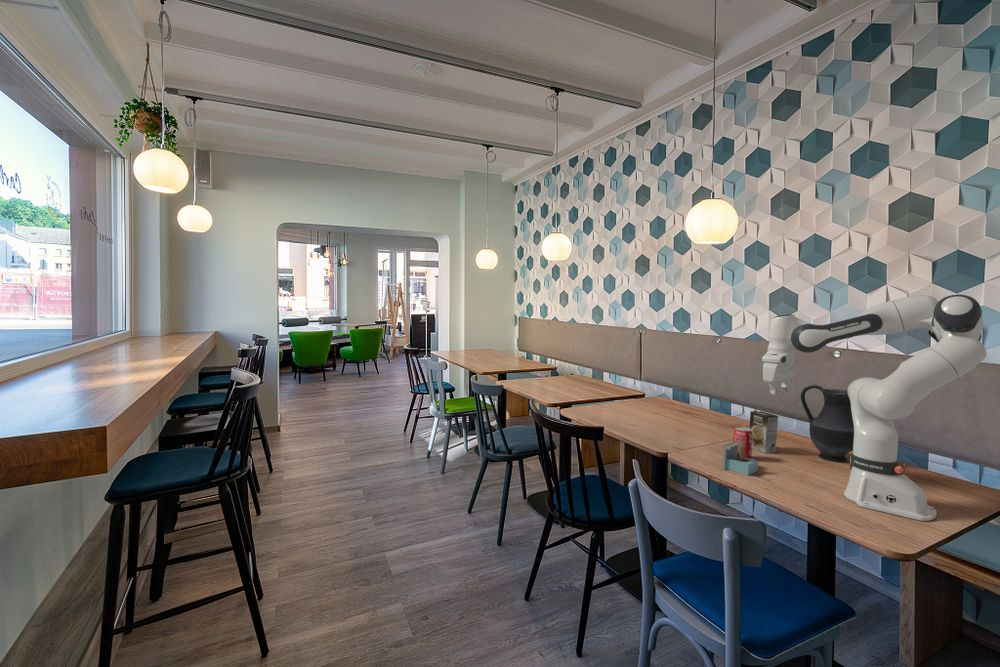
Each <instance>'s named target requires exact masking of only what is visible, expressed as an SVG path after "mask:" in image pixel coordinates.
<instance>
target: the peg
mask: <svg viewBox="0 0 1000 667" xmlns="http://www.w3.org/2000/svg"><path fill="white" fill-rule="evenodd" d="M745 448H746V445H745V444H741V443H739V444H738V451H737V460H738V461H742V462H745Z"/></svg>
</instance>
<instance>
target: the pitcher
mask: <svg viewBox="0 0 1000 667" xmlns="http://www.w3.org/2000/svg"><path fill="white" fill-rule="evenodd" d="M811 389H817V390H819V391H821V393H822V395H823V401H824V402H823V406H822V408H821V410H820V412H819V413H818V414H817V416H815V417H814V416H813V415H812V412H811V411H810V409H809V407H808V404H807V402H806V399H805V397H806V392H807V391H809V390H811ZM800 401H801V404H802V407H803V409H804V411H805V413H806V416H807V418H808V421H809V438H810V440H811V442H812V444H813V445H814V446H815V448H816V449H817V450H818V451H819V453H818V457H819V459H822V460H823V461H828V462H833V463H845V462H848V459H847V457H846V456H847V455H848V454H850V453H852V452H853V442H854V424H853V417H852V411H851V403H850V399H849V396H848V389H839V388H838V389H835V388H823V386H820V385H817V384H810V385H807V386H805V387H804V388H803V389H802V391H801V392H800Z"/></svg>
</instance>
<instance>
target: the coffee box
mask: <svg viewBox="0 0 1000 667" xmlns="http://www.w3.org/2000/svg"><path fill="white" fill-rule="evenodd" d="M749 413H750V415H749V429H751V432H752V434H753V445H752V450H756V451H759V452H761V453H764V454H771V453H776V452H777V451H776V449H777V437H778V436H777V435H778V424H779V415H776V414H774V413H773V414H772V413H770V412H765V411H762V410H759V411H758V410H753V411H752V410H751V411H750V412H749Z"/></svg>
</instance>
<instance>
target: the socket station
mask: <svg viewBox="0 0 1000 667" xmlns="http://www.w3.org/2000/svg"><path fill="white" fill-rule="evenodd" d="M739 443H740V442H733V441H732V442H731V443H728V444H724V445H723V446H722V463H721V464H722V465H721V467H722V468H721V469H722V470H723V471H725V470H727V471H731V472H734V473H738V474H740V475H741V474H742V475H745V476H751V475H752V474H755V473H757V472H758V466H759V460H756V459H753V458H745V462H742V461H738V460H737V451H738V444H739ZM741 444H742V443H741Z"/></svg>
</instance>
